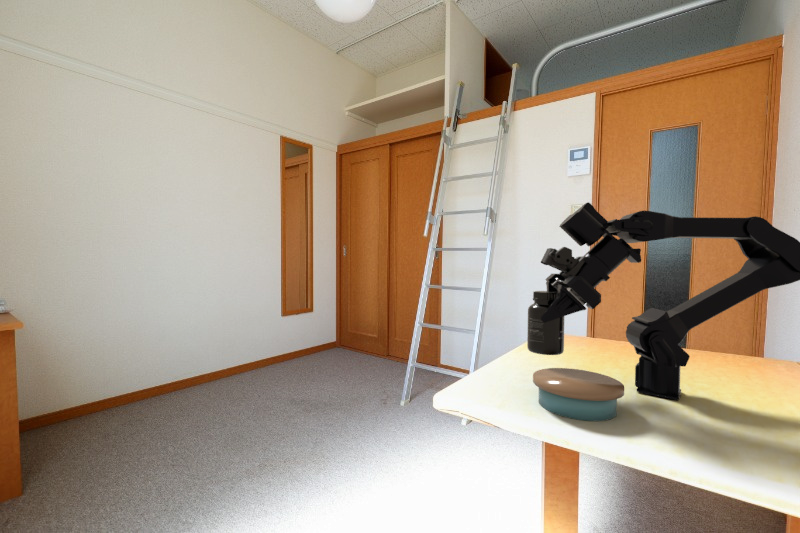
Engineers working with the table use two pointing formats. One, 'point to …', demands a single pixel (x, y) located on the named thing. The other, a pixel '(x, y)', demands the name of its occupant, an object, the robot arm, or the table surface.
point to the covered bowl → (578, 393)
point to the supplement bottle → (544, 326)
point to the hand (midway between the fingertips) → (538, 318)
